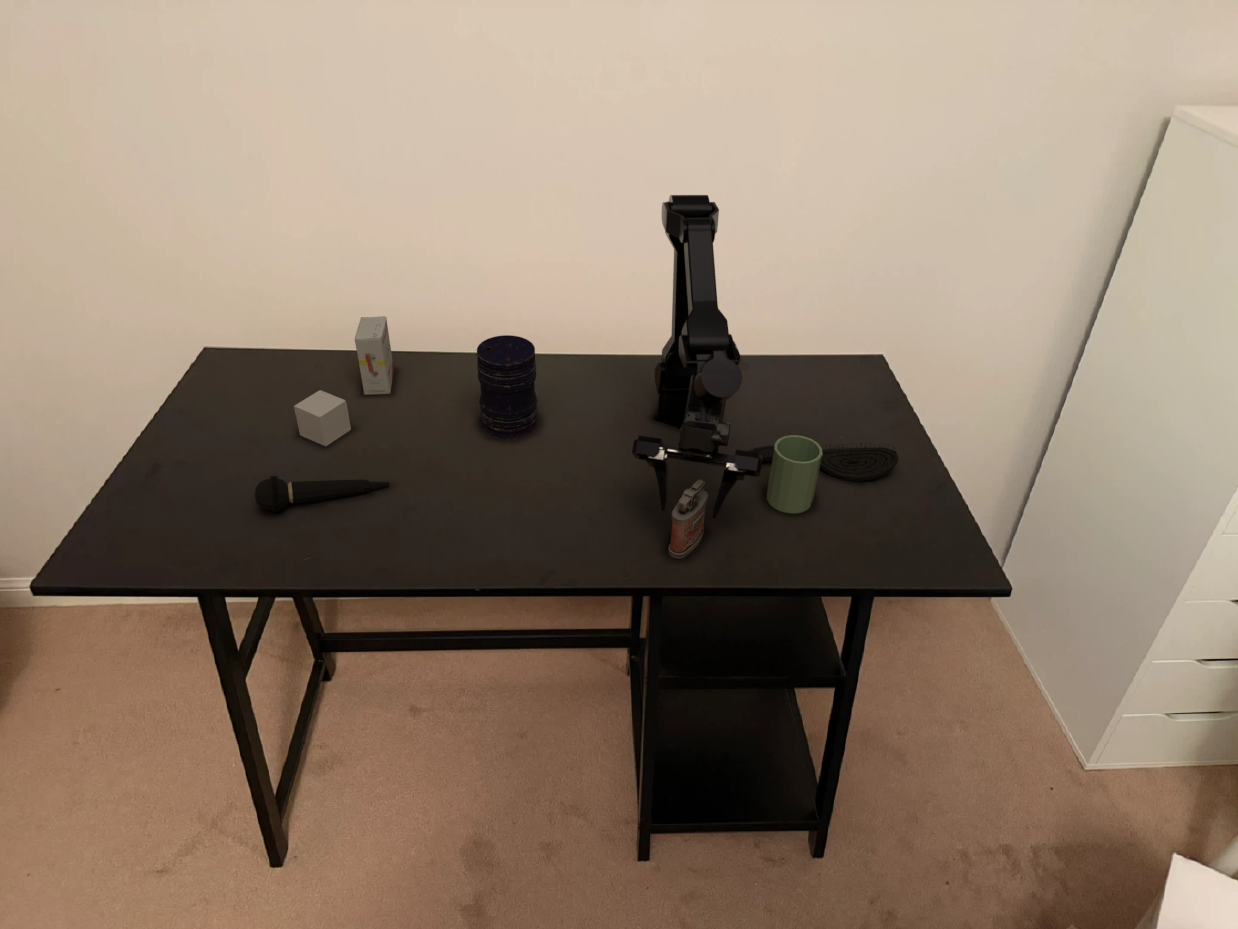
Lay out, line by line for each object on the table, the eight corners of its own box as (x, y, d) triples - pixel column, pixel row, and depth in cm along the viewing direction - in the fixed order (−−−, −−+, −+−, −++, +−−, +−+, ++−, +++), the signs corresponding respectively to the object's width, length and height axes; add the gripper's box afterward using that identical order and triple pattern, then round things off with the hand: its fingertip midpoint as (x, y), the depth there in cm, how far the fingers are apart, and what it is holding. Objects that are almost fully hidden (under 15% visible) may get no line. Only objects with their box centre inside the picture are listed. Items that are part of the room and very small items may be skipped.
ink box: (368, 370, 176) (359, 315, 168) (394, 370, 176) (387, 314, 169) (362, 395, 169) (353, 338, 162) (390, 395, 169) (382, 338, 162)
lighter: (683, 561, 136) (688, 509, 130) (663, 552, 138) (667, 500, 132) (708, 531, 142) (714, 480, 136) (689, 523, 143) (694, 472, 137)
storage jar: (538, 408, 167) (537, 335, 158) (536, 440, 160) (534, 365, 150) (483, 407, 167) (478, 334, 158) (478, 439, 159) (472, 364, 150)
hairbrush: (746, 430, 159) (895, 436, 157) (745, 447, 161) (892, 454, 159) (747, 459, 152) (902, 466, 150) (745, 477, 155) (898, 484, 152)
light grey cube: (325, 418, 163) (320, 389, 159) (351, 429, 160) (346, 400, 157) (299, 435, 158) (293, 405, 155) (325, 446, 156) (319, 416, 152)
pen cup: (759, 503, 148) (767, 453, 142) (776, 479, 153) (784, 430, 147) (802, 519, 145) (812, 468, 139) (818, 494, 150) (828, 444, 144)
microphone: (387, 495, 151) (255, 507, 144) (385, 461, 149) (252, 472, 142) (392, 506, 146) (256, 519, 139) (391, 472, 144) (253, 483, 137)
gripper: (637, 389, 130) (618, 498, 128) (770, 407, 127) (753, 519, 126) (644, 405, 141) (627, 506, 139) (767, 423, 138) (752, 526, 136)
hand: (688, 514), depth 135 cm, fingers open, 7 cm apart
